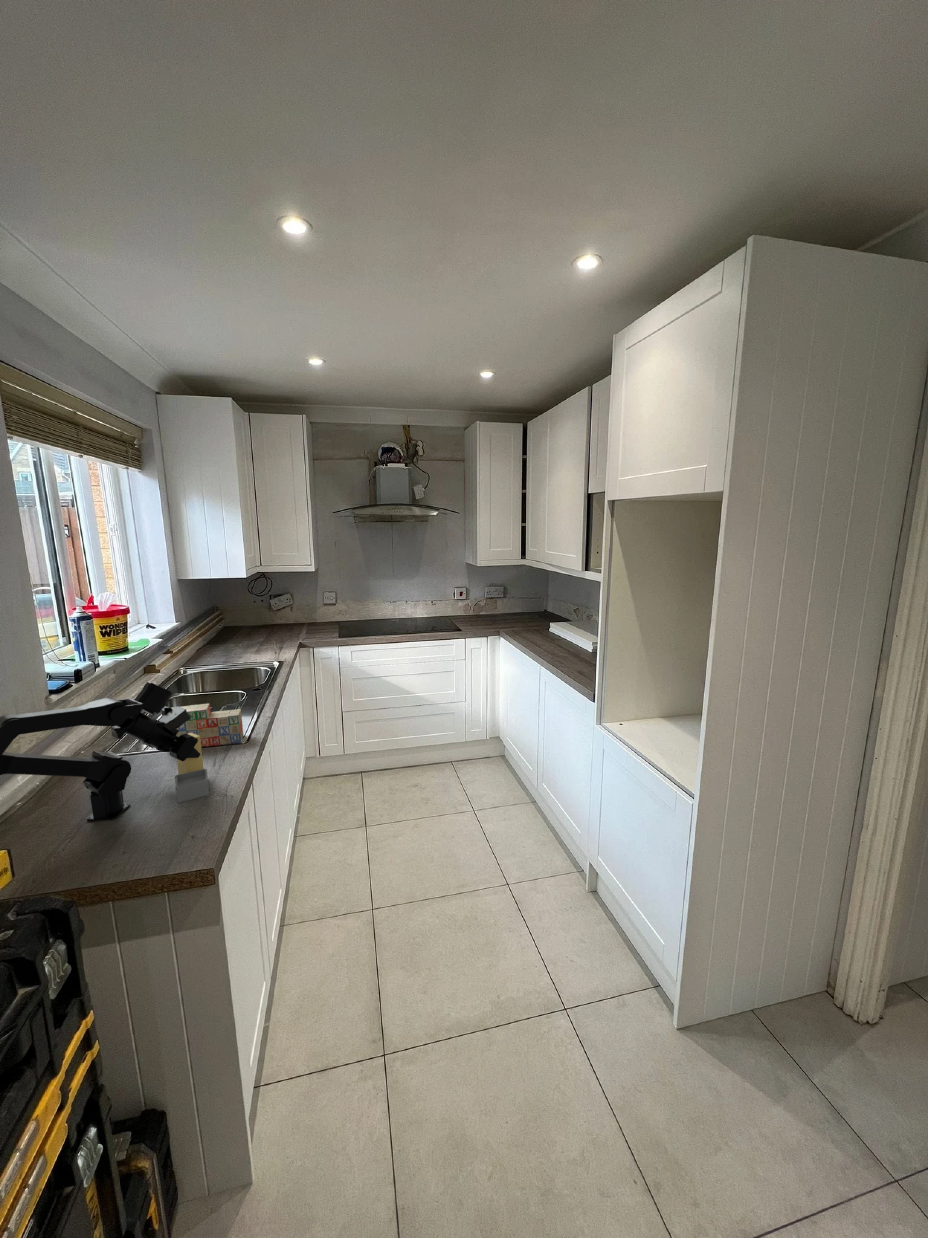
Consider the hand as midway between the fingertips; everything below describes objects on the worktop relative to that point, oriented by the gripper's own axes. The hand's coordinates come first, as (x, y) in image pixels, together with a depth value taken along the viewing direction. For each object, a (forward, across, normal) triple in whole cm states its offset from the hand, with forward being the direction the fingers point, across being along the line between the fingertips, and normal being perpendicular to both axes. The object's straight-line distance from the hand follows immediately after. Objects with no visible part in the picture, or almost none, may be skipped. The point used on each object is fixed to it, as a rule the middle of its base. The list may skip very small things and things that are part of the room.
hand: (194, 753), depth 136 cm
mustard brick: (+4, 0, +6) cm, 7 cm away
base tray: (+1, -8, +8) cm, 12 cm away
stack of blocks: (+15, +20, -5) cm, 25 cm away
